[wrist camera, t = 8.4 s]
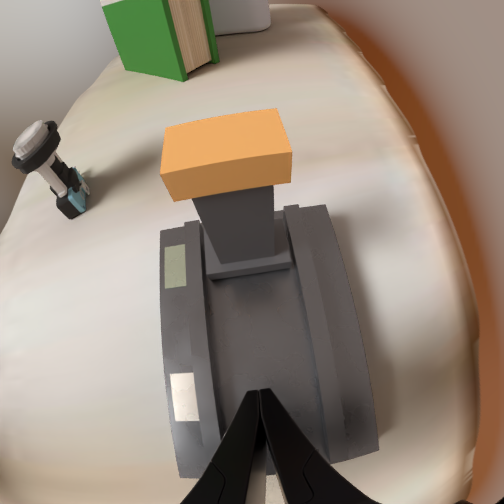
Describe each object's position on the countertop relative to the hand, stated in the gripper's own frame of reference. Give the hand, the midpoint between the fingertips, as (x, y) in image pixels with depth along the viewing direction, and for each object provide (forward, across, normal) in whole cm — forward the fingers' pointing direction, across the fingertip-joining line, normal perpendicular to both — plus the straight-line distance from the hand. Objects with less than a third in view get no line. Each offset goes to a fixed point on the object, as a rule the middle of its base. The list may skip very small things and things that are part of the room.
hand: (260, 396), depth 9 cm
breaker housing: (+8, 0, +4) cm, 9 cm away
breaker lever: (+10, 0, -2) cm, 10 cm away
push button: (+20, +17, -8) cm, 27 cm away
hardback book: (+38, +9, -28) cm, 48 cm away
